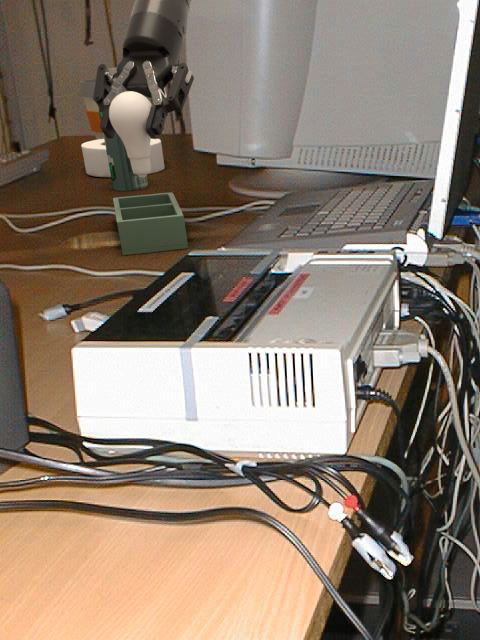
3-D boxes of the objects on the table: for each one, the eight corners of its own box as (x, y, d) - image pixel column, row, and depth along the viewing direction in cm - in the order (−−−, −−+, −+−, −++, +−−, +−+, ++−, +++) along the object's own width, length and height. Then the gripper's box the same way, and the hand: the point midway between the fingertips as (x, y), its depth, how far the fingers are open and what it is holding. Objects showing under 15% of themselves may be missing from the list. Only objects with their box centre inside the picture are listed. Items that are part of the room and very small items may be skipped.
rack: (188, 248, 128) (183, 215, 126) (123, 255, 126) (116, 222, 124) (177, 222, 143) (172, 192, 141) (118, 228, 141) (112, 197, 139)
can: (126, 183, 173) (111, 98, 165) (153, 184, 171) (139, 98, 163) (107, 190, 168) (91, 102, 160) (135, 191, 166) (120, 102, 158)
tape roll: (162, 161, 193) (158, 133, 191) (167, 173, 180) (163, 144, 177) (86, 167, 190) (81, 139, 187) (86, 180, 177) (80, 150, 174)
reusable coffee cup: (160, 150, 206) (149, 77, 199) (114, 159, 198) (100, 83, 191) (127, 146, 213) (115, 76, 206) (81, 154, 205) (67, 81, 198)
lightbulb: (128, 183, 123) (113, 95, 117) (114, 177, 128) (99, 91, 122) (171, 177, 126) (157, 90, 120) (156, 171, 130) (142, 87, 125)
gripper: (97, 11, 124) (67, 117, 121) (192, 7, 120) (163, 116, 117) (124, 50, 131) (97, 152, 128) (214, 48, 127) (188, 153, 124)
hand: (129, 134), depth 122 cm, fingers closed on lightbulb, 6 cm apart
